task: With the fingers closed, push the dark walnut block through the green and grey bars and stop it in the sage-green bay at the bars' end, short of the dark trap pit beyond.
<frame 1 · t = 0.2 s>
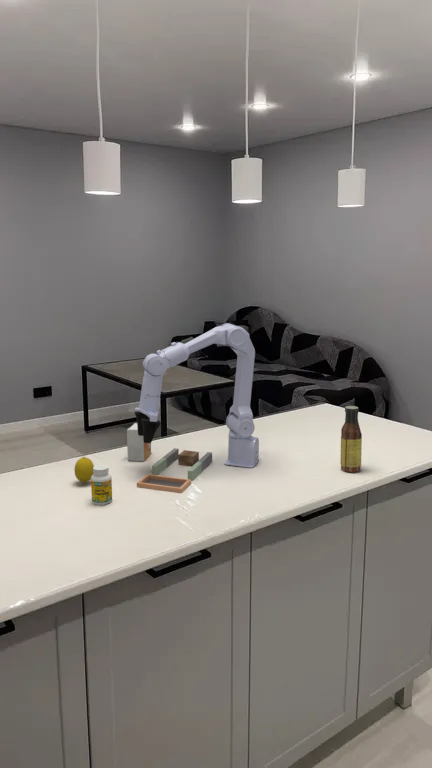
hand: (144, 439, 180), 11 cm above the counter, tool pointing down, fingers open, 7 cm apart
small box: (139, 458, 196), on the counter
trap pit: (164, 485, 173), on the counter
sauce bottle: (349, 470, 186), on the counter
supplement bottle: (102, 502, 161), on the counter
green and grey bars: (182, 468, 186), on the counter
walnut block: (188, 463, 191), on the counter
lemon: (84, 484, 173), on the counter
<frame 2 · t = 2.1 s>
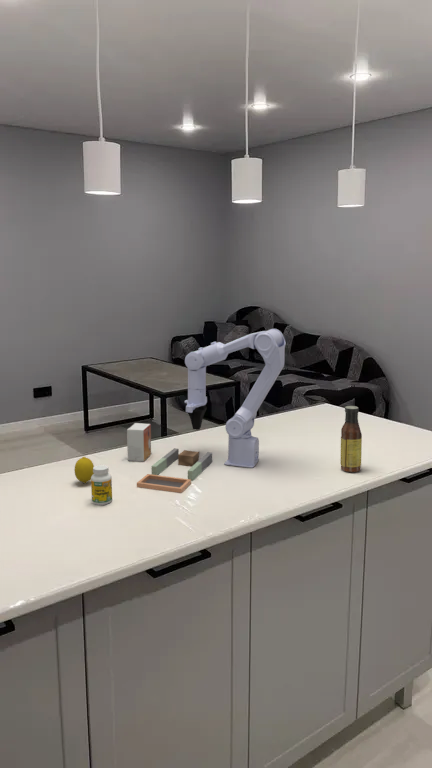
hand: (196, 429, 196), 9 cm above the counter, tool pointing down, fingers closed
nothing on the counter moved.
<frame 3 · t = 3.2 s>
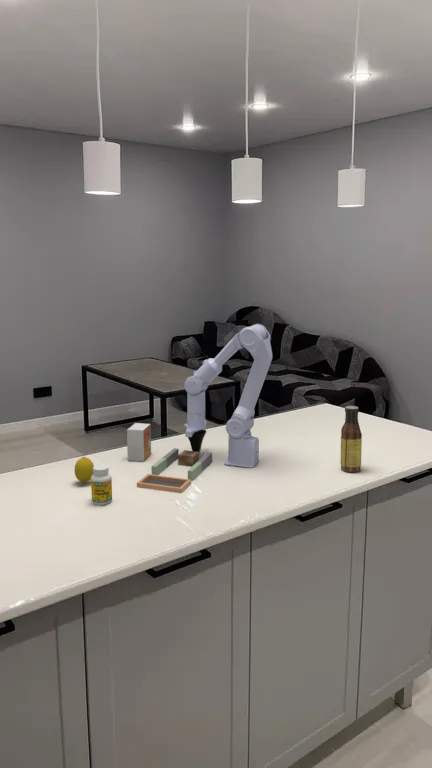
hand: (196, 452, 197), 1 cm above the counter, tool pointing down, fingers closed
nothing on the counter moved.
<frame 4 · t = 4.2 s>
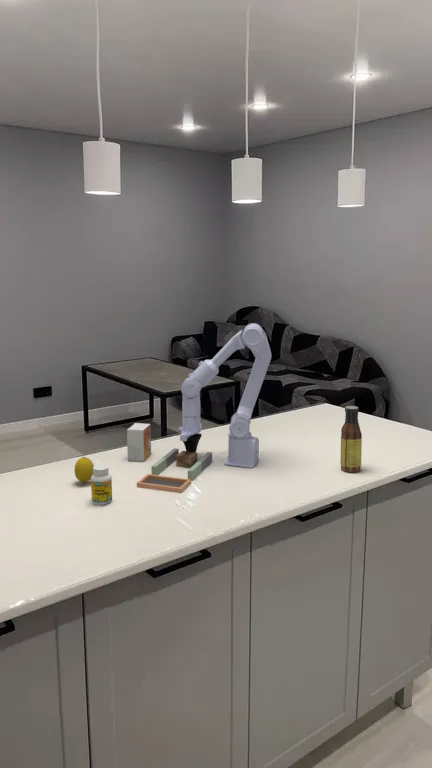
hand: (191, 456, 193), 1 cm above the counter, tool pointing down, fingers closed
walnut block: (187, 464, 190), on the counter, touching gripper
everything else where it was.
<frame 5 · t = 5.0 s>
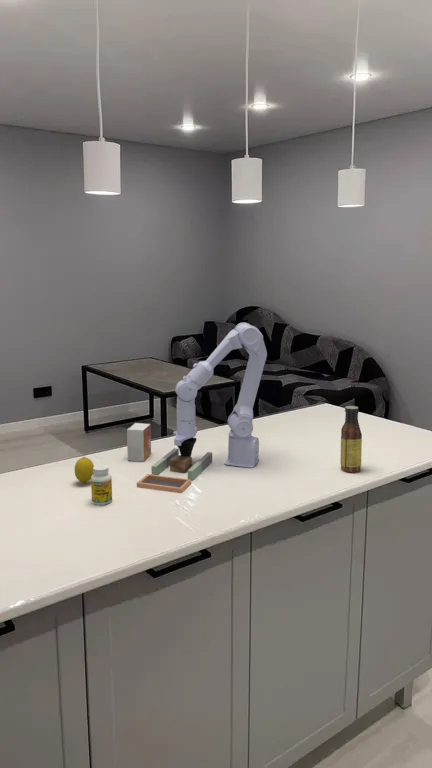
hand: (186, 461, 189), 1 cm above the counter, tool pointing down, fingers closed
walnut block: (181, 469, 185), on the counter, touching gripper
everything else where it was.
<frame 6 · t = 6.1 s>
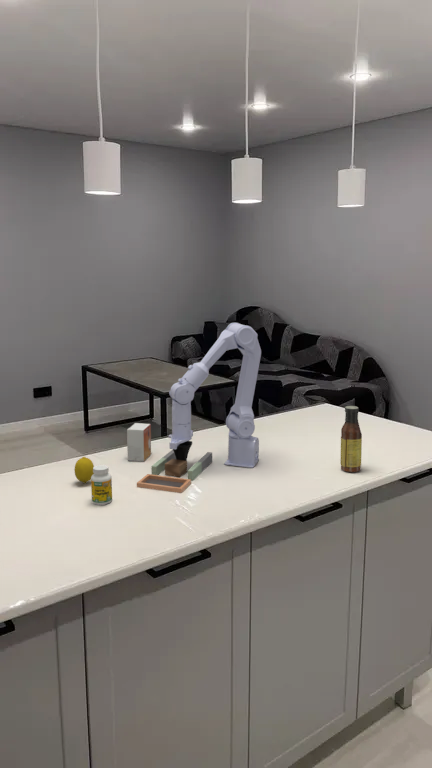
hand: (181, 465, 185), 1 cm above the counter, tool pointing down, fingers closed
walnut block: (176, 473, 182), on the counter, touching gripper
everything else where it was.
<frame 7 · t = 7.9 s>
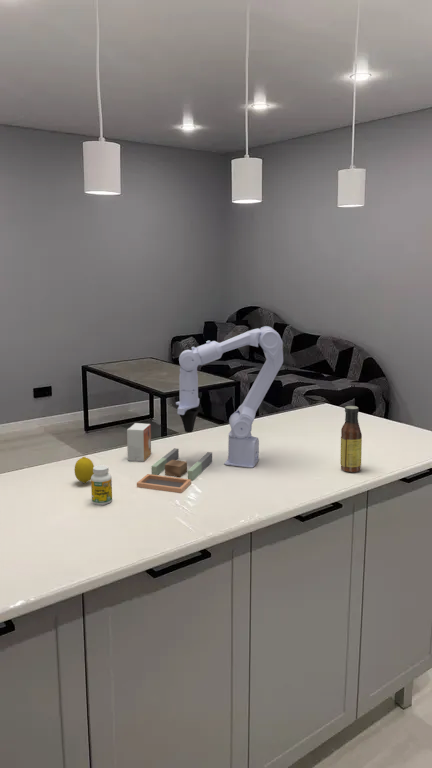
hand: (188, 431, 189), 10 cm above the counter, tool pointing down, fingers closed
walnut block: (176, 474, 182), on the counter
everything else where it was.
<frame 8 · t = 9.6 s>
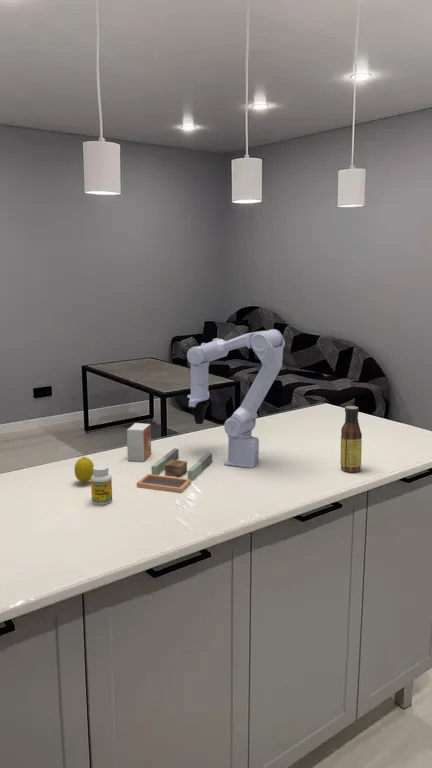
hand: (199, 423, 198), 10 cm above the counter, tool pointing down, fingers closed
nothing on the counter moved.
at the end: walnut block 0.5 cm from the target spot, on the counter; walnut block tilted 0°; walnut block touching counter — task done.
